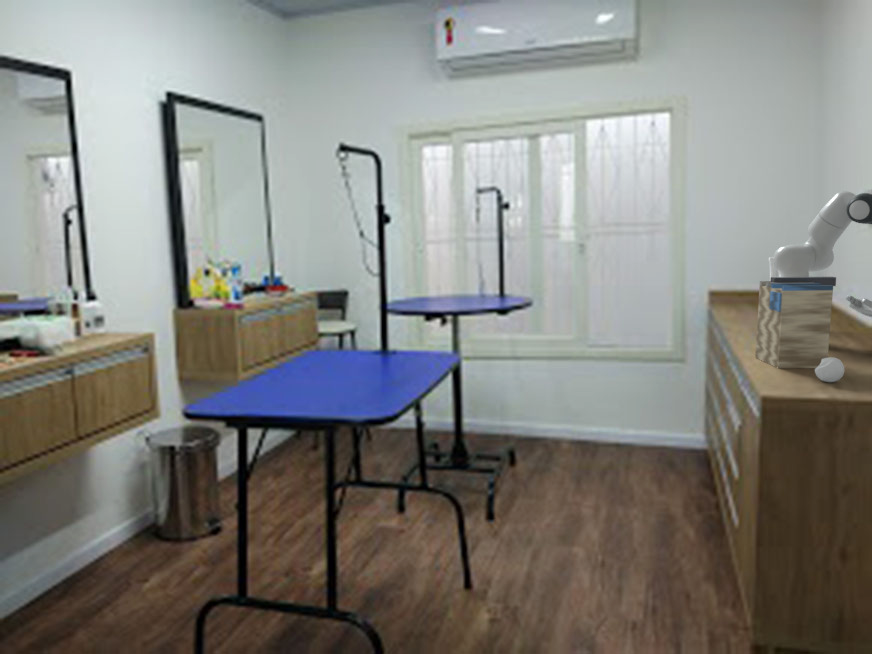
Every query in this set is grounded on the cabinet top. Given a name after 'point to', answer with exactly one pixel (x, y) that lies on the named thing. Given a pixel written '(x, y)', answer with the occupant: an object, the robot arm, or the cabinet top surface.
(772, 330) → the riser
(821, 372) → the white round lump
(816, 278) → the dark grey piece
